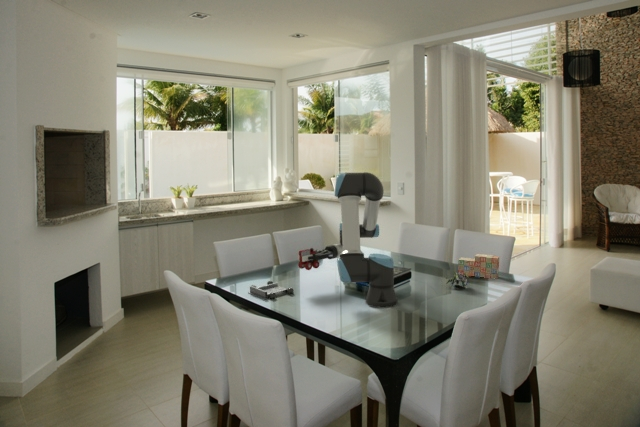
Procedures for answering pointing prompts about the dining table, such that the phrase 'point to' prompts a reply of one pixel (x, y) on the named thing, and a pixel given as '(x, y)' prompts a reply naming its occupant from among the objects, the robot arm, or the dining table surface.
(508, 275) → the dining table surface
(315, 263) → the red plastic toy vehicle
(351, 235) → the robot arm
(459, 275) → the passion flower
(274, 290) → the chassis bay
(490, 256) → the stack of blocks
